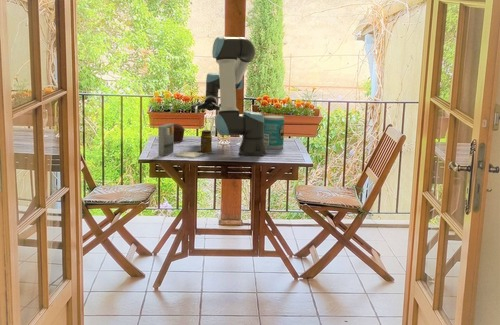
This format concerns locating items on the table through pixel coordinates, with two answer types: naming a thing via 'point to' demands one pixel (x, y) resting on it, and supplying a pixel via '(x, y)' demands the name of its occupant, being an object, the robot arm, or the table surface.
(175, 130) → the muffin
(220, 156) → the table surface
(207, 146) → the condiment
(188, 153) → the tile
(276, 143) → the food can
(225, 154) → the table surface
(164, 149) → the breaker box
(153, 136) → the table surface
